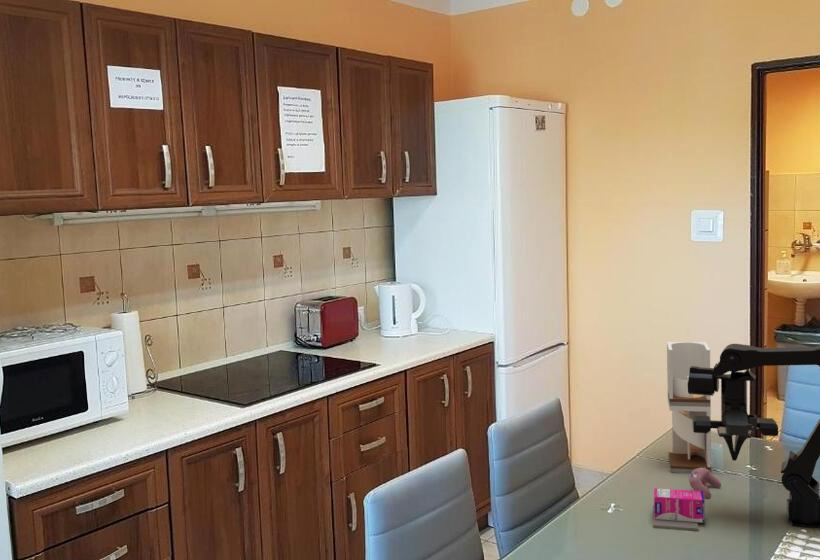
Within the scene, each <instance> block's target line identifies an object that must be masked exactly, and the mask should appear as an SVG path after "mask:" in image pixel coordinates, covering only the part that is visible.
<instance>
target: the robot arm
mask: <svg viewBox="0 0 820 560" xmlns="http://www.w3.org/2000/svg"><path fill="white" fill-rule="evenodd" d="M764 366H765V367H767V366H769V367H771V366H779V367H780V366H818V367H820V345H816V346H798V347H796V346H795V347H793V346H792V347H788V346H787V347H757V346H755V345H749V344H741V343H730V344H728V345H727V346H725V347H724V348H723V349H722V351H721V354H720V355H719V361H718V363H715V364H714V366H713V367H710V368H701V367H696V366H691V367H690V373H689V381H688V393H689V394H697V395H710V396H712V397H713V396H715V393H718V392H719V389H720V388H721V389H720V395H721V396H720V399H721V400H720V401H721V402H720V403H721V405H720V409H721V410H720V411H721V412H720V413H721V415H720V416H721V417H720V418H721V419H720V420H712V419H711V420H710V417H709V416H694V417H693V418H692V426H693V432H695V433H708V432H709V431H711V432H712V429H716V431H717V434H718V437H720V438H723V440H725V443H726V445H727V447H728V450H729V453H730V457H731V459H732V461H737V460H738V456H739V454H740V452H741V449H742V448H743V447H742V446H743V444H744V443H745V442H746V440H748V439H752V433H751V432H753V431H759V432H760V434H762V435H763V436H766V437H778V436H779V426H778V423H777V421H776V419H774V418H772V417H771V418H769V417H767V418H765V417H758V416H757V414H749V413H748V382H755V380H756V377H757V375H755V374H754V373H752V371H751V369H755V368H759V367H764ZM729 372H730V373H729ZM728 373H729V374H728ZM733 436H735V437H734V441H733ZM733 443H734V444H733ZM819 458H820V418H819V419H818V421H817V423H816V424H815V426H814V427H813V429H812V430H811V433H810V434H809V436H808V437H807V439H806V441H805V442H804V444H803V446H802V447H801V449H800V450H798V451H797V452H796V453H795V452H793V451H792V450H789V452H788V455H787V458H786V459H785V460H784V461H783V462H782V463H781V467H780V473H781V484H782V486H783V488H784V489H786V490H787V491H788V492H789V493H788V498H787V499H786V516H787V519H788V520H789V521H790V524H791V526H795V527H808V528H809V527H810V528H820V482H819V481H818V480H817V479H815V478H814V476H813V474H814V471H815V469H816V465H817V461H818V460H819Z"/></svg>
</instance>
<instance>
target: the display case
mask: <svg viewBox="0 0 820 560" xmlns="http://www.w3.org/2000/svg"><path fill="white" fill-rule="evenodd" d="M666 366H667V368H666V371H667V372H666V375H667V381H666V382H667V402H668V403H667V404H668V409H669V412H671V425H672V426H671V427H672V428H671V431H672V434H671V435H672V436H671V437H672V439H671V440H672V452H670V451H669V452H668V464H670V465H669V468H670V469H669V470H670V473H672V472H673V473H675V474H692V472H693V470H695V469H697V468H704V467H705V468H706V469H708V470H709V471H710V472H711V473H712V430H711V431H709V432H708V433H695V432H693V426H692V418H693V417H694V416H709V417H710V420H712V419H711V418H712V416H711V415H712V412H711V410H712V409H711V404H712V403H711V399H712V398H711V396H710V395H697V394H689V393H688V381H689V373H690V367H691V366H696V367H701V368H711V348H709V345H708V343H707V342H706V341H667V342H666Z"/></svg>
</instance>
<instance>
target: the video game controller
mask: <svg viewBox="0 0 820 560" xmlns="http://www.w3.org/2000/svg"><path fill="white" fill-rule="evenodd" d="M688 482H689V484H690V487H691V488H692V489H693V490H694V491H703V492H704V499H710V498H711V497H712V493H711V491H710V489H708V488H709V485H710V486H711V487H714V488H716V489H720V488H721V487H722V483H721V481H720V480H719V479H718V478H717V477H716V476H715V475H714V474H713V473H712V471H711V472H710V471H709V470H708V469H706V468H705V467H704V468H697V469H695V470H693V472H692V473H690V475H689V477H688Z"/></svg>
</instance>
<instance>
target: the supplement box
mask: <svg viewBox="0 0 820 560" xmlns="http://www.w3.org/2000/svg"><path fill="white" fill-rule="evenodd" d="M705 499H706V498H704V492H703V491H696V490H689V489H688V490H686V489H671V488H653V505H654V514H655V519H660V520H674V521H688V522H698V523H701V524H702V523H703V524H705V523H706V518H705V517H706V511H705V510H706V509H705V508H706V507H705V502H706V501H705Z"/></svg>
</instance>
